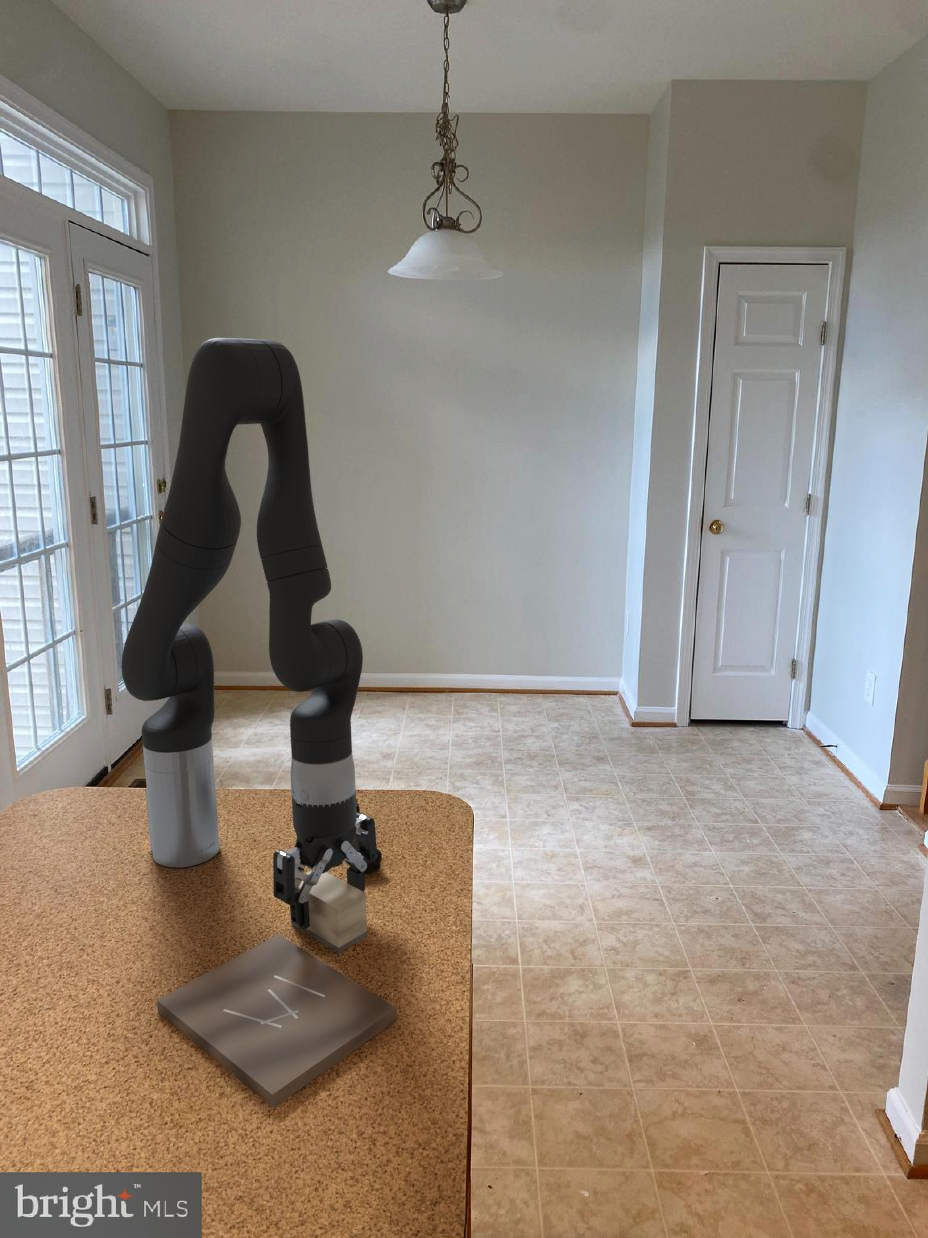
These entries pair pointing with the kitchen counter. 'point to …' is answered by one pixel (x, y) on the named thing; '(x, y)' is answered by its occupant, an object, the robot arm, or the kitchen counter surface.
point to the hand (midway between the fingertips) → (329, 911)
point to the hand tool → (371, 865)
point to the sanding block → (336, 913)
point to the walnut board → (276, 1017)
